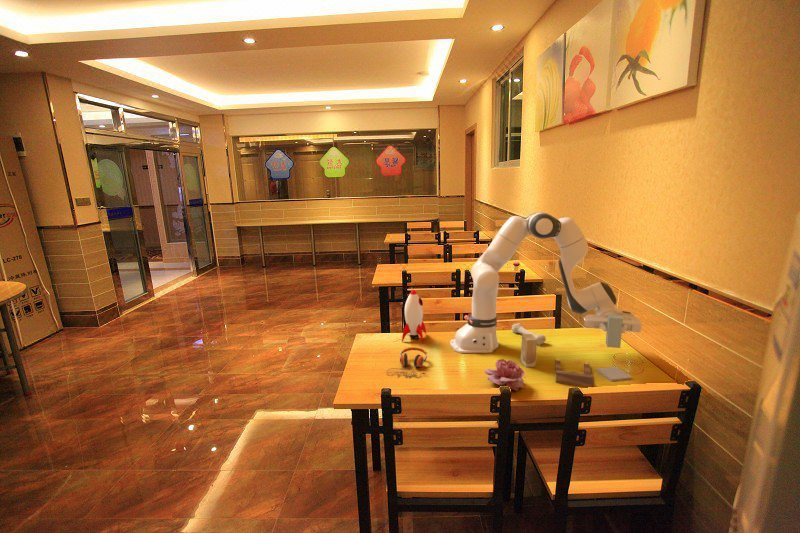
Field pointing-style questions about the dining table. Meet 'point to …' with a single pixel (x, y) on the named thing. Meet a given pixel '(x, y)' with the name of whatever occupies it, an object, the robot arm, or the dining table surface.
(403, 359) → the headphones
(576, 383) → the channel
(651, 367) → the dining table surface
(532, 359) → the skincare box
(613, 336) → the block
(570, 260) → the robot arm
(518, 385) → the flower
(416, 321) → the rocket
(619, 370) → the coaster
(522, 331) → the dog toy
